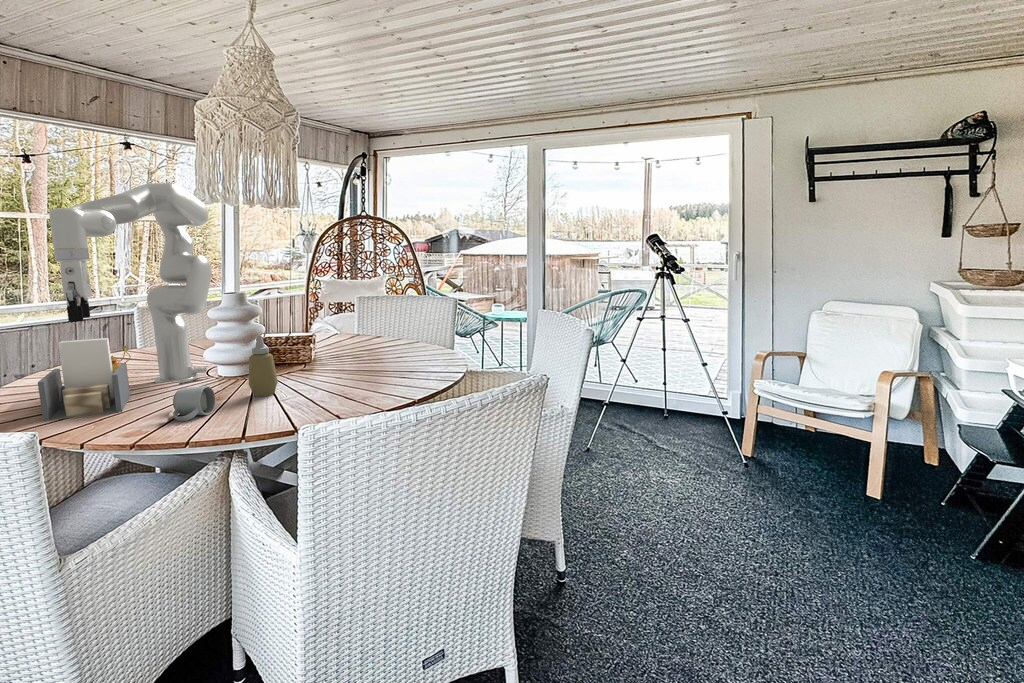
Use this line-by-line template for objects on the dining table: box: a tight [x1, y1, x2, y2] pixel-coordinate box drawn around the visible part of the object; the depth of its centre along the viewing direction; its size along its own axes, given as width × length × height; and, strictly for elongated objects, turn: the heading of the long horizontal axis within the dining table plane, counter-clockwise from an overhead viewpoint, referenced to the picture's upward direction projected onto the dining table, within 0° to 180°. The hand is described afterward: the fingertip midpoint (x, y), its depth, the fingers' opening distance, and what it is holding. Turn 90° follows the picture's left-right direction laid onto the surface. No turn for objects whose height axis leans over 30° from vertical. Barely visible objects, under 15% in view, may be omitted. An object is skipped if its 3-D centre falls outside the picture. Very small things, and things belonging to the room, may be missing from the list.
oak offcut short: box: [64, 391, 105, 416], centre depth 161 cm, size 8×3×5 cm, turn 115°
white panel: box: [57, 337, 115, 398], centre depth 168 cm, size 11×3×18 cm, turn 115°
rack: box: [37, 362, 131, 422], centre depth 166 cm, size 17×18×12 cm
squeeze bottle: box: [248, 334, 279, 398], centre depth 182 cm, size 8×8×18 cm
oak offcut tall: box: [62, 384, 112, 413], centre depth 165 cm, size 10×3×6 cm, turn 115°
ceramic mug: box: [172, 385, 216, 422], centre depth 162 cm, size 11×8×8 cm
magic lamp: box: [111, 344, 132, 373], centre depth 211 cm, size 7×18×11 cm, turn 88°
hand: (79, 319), depth 166 cm, fingers open, 9 cm apart
